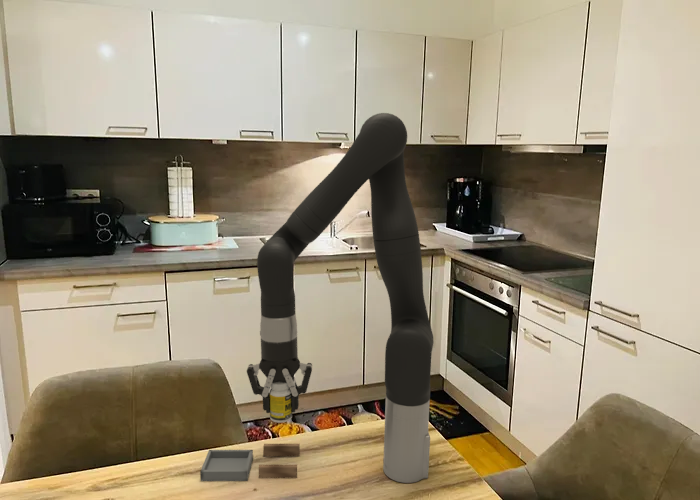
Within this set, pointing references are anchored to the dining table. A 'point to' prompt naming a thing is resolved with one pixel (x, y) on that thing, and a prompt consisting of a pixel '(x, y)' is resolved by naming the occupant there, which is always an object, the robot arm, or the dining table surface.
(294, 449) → the slot rails
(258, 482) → the dining table surface
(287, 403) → the supplement bottle
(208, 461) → the tray
